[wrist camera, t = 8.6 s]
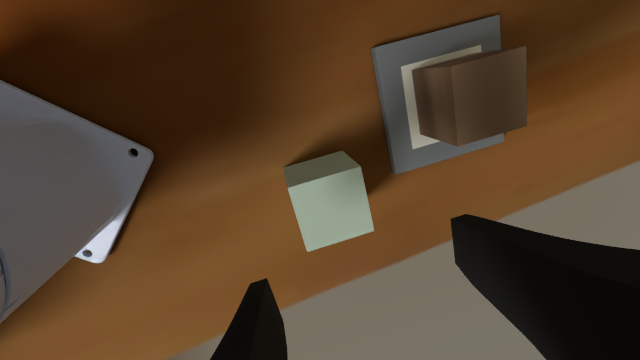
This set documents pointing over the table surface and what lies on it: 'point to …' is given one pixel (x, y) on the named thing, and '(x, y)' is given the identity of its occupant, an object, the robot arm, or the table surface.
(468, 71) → the walnut block
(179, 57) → the table surface
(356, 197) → the sage block
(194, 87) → the table surface
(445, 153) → the grey flat square tile
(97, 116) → the table surface
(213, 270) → the table surface
